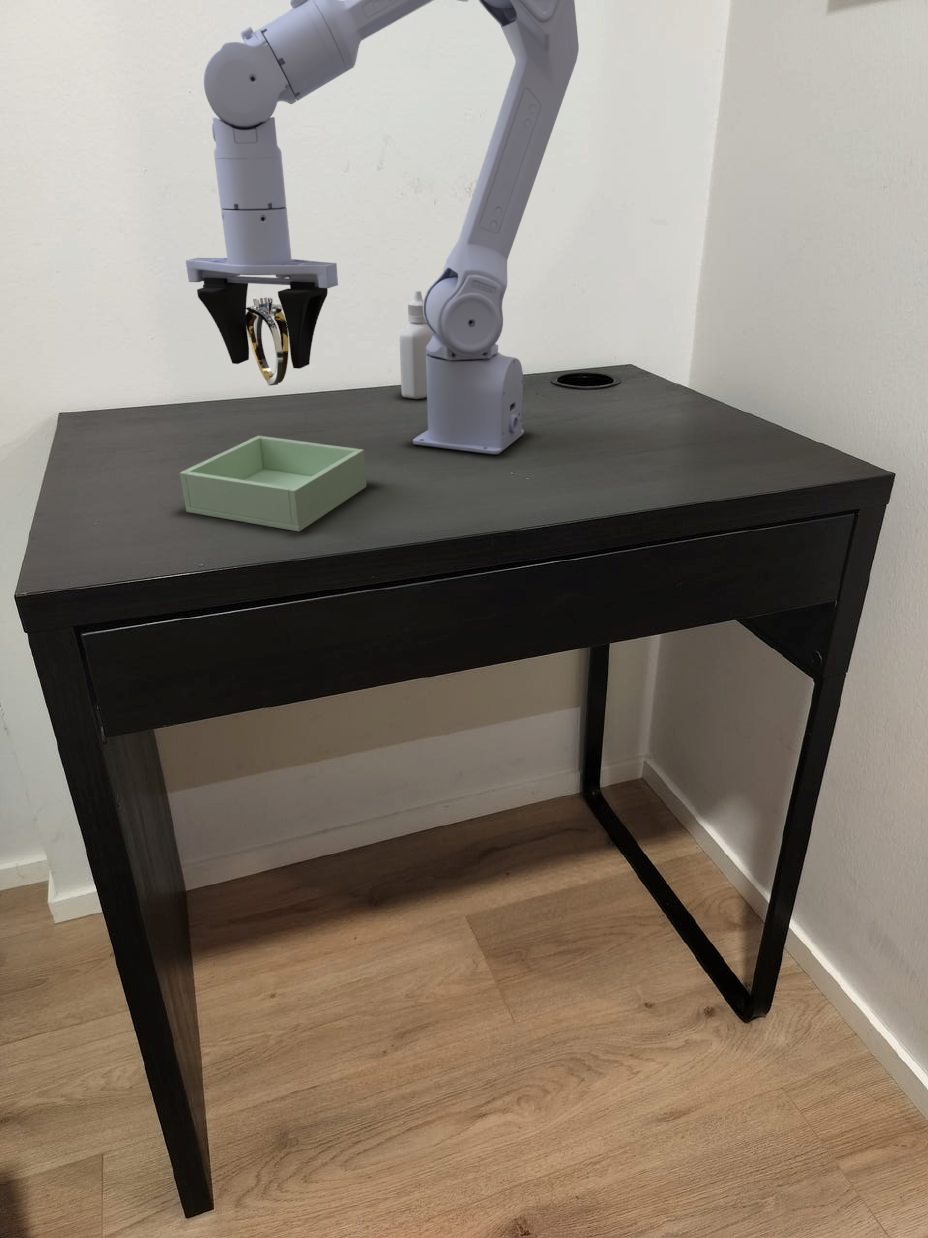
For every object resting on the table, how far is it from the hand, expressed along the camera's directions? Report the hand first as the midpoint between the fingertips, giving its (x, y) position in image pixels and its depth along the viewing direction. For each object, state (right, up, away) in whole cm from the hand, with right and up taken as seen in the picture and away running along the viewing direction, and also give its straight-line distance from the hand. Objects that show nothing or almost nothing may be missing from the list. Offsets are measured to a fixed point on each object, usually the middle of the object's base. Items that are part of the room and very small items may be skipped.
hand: (271, 363), depth 85 cm
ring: (0, -2, +1) cm, 2 cm away
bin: (+2, -14, -8) cm, 16 cm away
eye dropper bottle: (+13, +3, +24) cm, 27 cm away
